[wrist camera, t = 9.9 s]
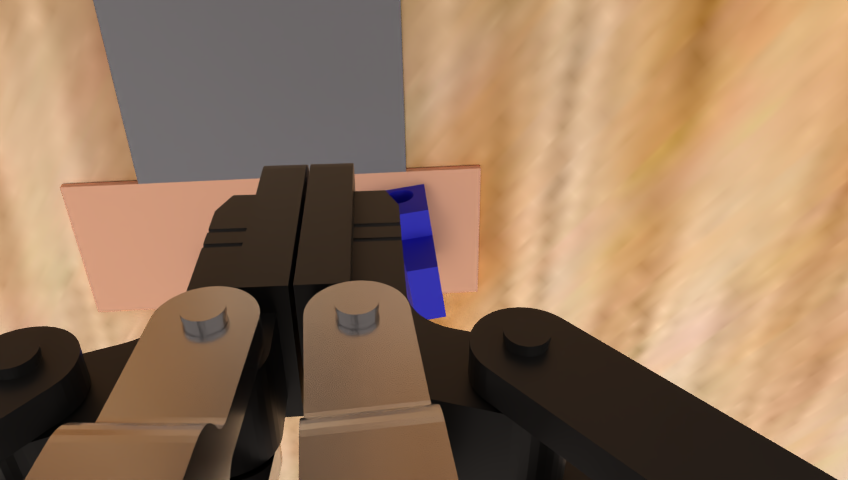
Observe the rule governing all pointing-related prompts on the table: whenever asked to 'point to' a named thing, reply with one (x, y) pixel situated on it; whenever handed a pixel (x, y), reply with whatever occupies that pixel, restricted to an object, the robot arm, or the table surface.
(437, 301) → the blue cradle block
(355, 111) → the t mat
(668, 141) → the table surface
